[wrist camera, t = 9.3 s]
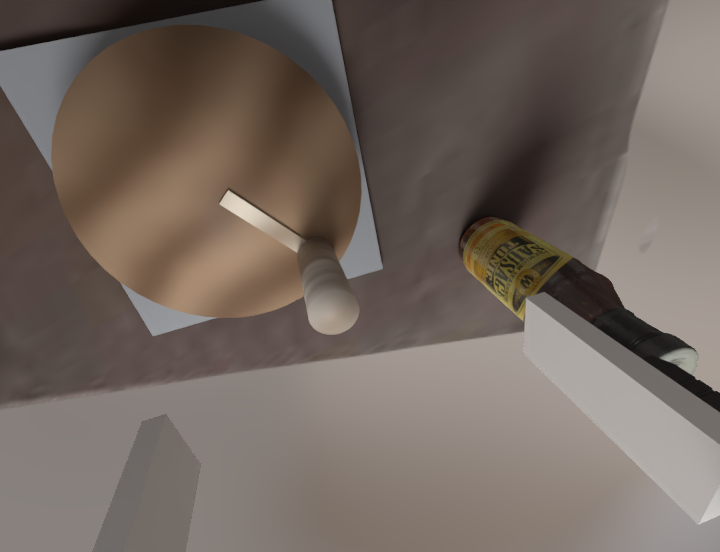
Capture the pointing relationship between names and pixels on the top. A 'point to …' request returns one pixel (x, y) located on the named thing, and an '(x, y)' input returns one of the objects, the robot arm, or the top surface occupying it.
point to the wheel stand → (258, 20)
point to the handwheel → (210, 175)
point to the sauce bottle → (560, 287)
